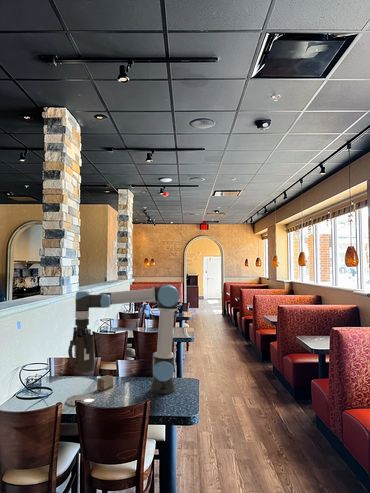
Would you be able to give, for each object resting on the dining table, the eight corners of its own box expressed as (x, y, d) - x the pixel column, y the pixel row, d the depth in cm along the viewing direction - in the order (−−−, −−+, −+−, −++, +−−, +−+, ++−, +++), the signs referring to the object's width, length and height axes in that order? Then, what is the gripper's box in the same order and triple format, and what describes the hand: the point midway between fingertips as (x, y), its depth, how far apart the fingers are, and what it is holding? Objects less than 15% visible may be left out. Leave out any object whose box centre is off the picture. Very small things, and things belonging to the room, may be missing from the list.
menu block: (113, 387, 238) (113, 376, 238) (103, 391, 230) (103, 379, 230) (107, 386, 240) (107, 375, 241) (97, 390, 233) (97, 378, 233)
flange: (101, 400, 215) (101, 398, 215) (76, 408, 203) (76, 406, 203) (85, 394, 226) (85, 392, 226) (60, 401, 213) (60, 399, 214)
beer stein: (88, 366, 225) (86, 332, 225) (99, 369, 218) (98, 334, 218) (65, 373, 213) (63, 338, 213) (76, 377, 207) (75, 340, 207)
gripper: (99, 319, 212) (98, 360, 211) (77, 316, 227) (76, 354, 226) (87, 320, 207) (87, 362, 206) (65, 317, 221) (65, 356, 220)
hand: (81, 358), depth 216 cm, fingers closed on beer stein, 9 cm apart
